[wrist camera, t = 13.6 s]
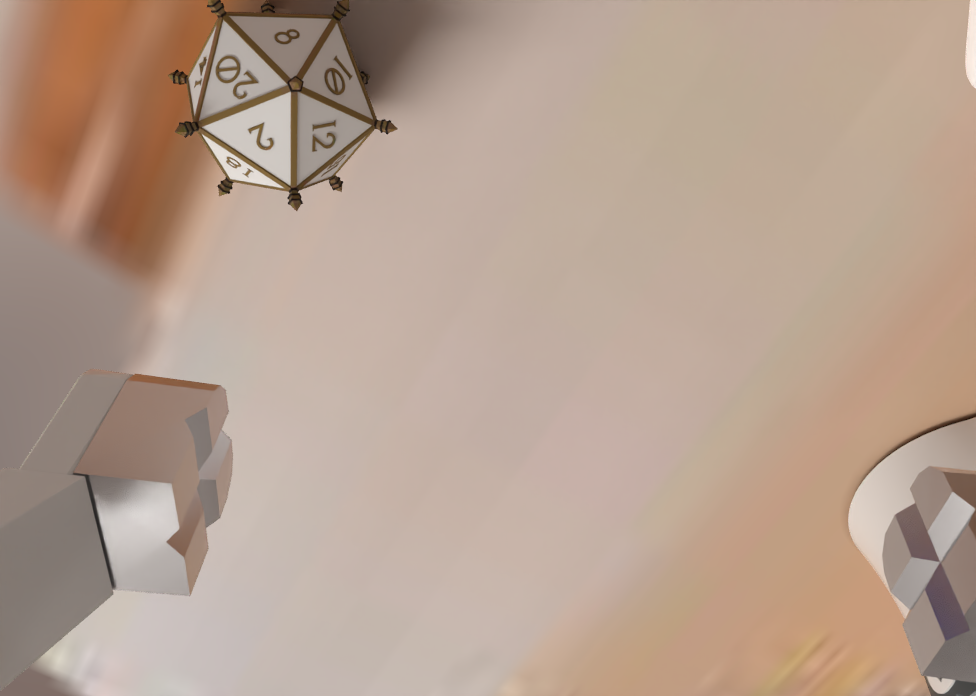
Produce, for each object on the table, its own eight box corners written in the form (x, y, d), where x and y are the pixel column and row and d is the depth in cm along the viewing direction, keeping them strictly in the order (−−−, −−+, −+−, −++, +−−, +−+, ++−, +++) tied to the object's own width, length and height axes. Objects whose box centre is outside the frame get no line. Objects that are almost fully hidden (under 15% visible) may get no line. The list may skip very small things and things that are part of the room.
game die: (279, 48, 43) (85, 94, 37) (358, -77, 37) (139, -49, 30) (379, 206, 43) (203, 280, 37) (475, 109, 37) (282, 177, 30)
